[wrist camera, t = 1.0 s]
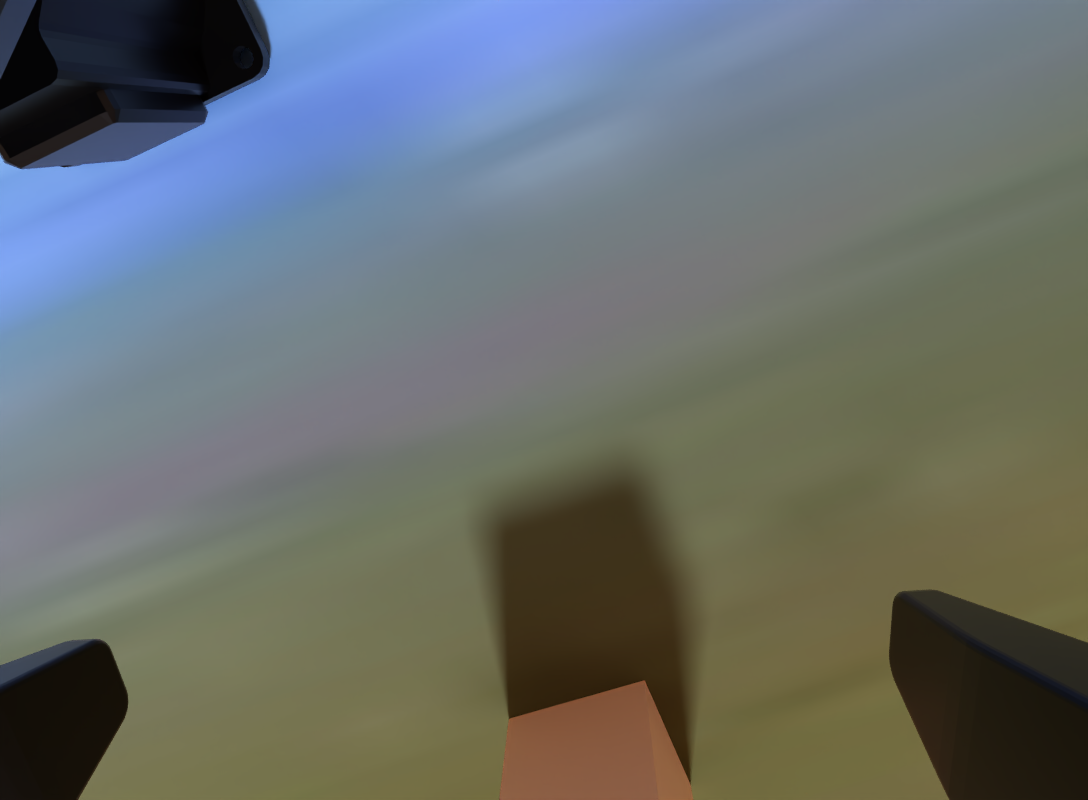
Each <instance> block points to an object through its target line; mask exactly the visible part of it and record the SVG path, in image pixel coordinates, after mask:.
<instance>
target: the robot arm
mask: <svg viewBox="0 0 1088 800" xmlns="http://www.w3.org/2000/svg"><path fill="white" fill-rule="evenodd" d="M244 48H249V50H250V51H251V52H252V54H253V59H254V60H253V64H252V65H251V66H250V67H249V68H247V69H246V68H245V67H244V66H243V65H242V64H241V61H240V54H241V51H242V50H243V49H244ZM269 63H270V58H269V55H268V51H267V49H266V47H265V45H264V43H263V41H262V38H261V36H260V34H259V32H258V30H257V28H256V26H255V24H254V22H253V20H252V18H251V16H250V14H249V12H248V9H247V7H246V5H245V3H244V1H243V0H0V156H1V157H2V159H3V161H4V162H5V163H6V164H9V165H12V166H14V167H17V168H20V169H30V168H42V167H54V166H61V167H73V166H78V165H82V164H90V163H101V162H113V161H125V160H128V159H130V158H132V157H135V156H137V155H139V154H141V153H143V152H145V151H147V150H149V149H151V148H153V147H156V146H158V145H160V144H162V143H164V142H166V141H168V140H170V139H172V138H175V137H177V136H179V135H181V134H183V133H185V132H187V131H189V130H191V129H194V128H196V127H198V126H200V125H202V124H204V123H205V120H206V117H207V114H208V111H207V109H206V107H205V105H207V104H209V103H211V102H213V101H215V100H217V99H219V98H222V97H224V96H226V95H228V94H230V93H232V92H234V91H236V90H238V89H240V88H242V87H245V86H247V85H249V84H251V83H253V82H255V81H257V80H259V79H261V78H262V77H263V76H264V75H266V73H267V71H268V69H269ZM889 660H890V667H891V671H892V675H893V678H894V680H895V683H896V685H897V687H898V690H899V692H900V694H901V696H902V698H903V701H904V703H905V705H906V707H907V709H908V712H909V714H910V716H911V718H912V720H913V723H914V725H915V727H916V729H917V731H918V734H919V736H920V738H921V740H922V742H923V745H924V747H925V749H926V751H927V753H928V756H929V758H930V760H931V762H932V764H933V767H934V769H935V771H936V773H937V775H938V778H939V780H940V782H941V784H942V786H943V788H944V790H945V792H946V794H947V796H948V798H949V800H1088V643H1087V642H1084V641H1081V640H1078V639H1076V638H1073V637H1070V636H1067V635H1064V634H1061V633H1058V632H1055V631H1053V630H1050V629H1047V628H1044V627H1041V626H1038V625H1035V624H1032V623H1030V622H1027V621H1024V620H1021V619H1018V618H1015V617H1012V616H1009V615H1007V614H1004V613H1001V612H998V611H995V610H992V609H989V608H986V607H984V606H981V605H978V604H975V603H972V602H969V601H966V600H963V599H961V598H958V597H955V596H952V595H949V594H946V593H943V592H940V591H937V590H916V591H902V592H899V593H898V594H897V595H896V596H895V598H894V601H893V607H892V621H891V634H890V647H889ZM127 708H128V694H127V690H126V687H125V685H124V682H123V679H122V677H121V674H120V672H119V669H118V666H117V664H116V661H115V659H114V656H113V653H112V651H111V649H110V647H109V645H108V644H107V643H106V642H105V641H102V640H100V639H88V640H72V641H67V642H63V643H61V644H58V645H55V646H52V647H50V648H47V649H44V650H41V651H39V652H36V653H33V654H31V655H28V656H25V657H22V658H20V659H17V660H14V661H11V662H9V663H6V664H3V665H0V800H78V799H79V797H80V795H81V793H82V792H83V790H84V788H85V787H86V785H87V783H88V781H89V780H90V778H91V776H92V774H93V773H94V771H95V769H96V767H97V766H98V764H99V762H100V761H101V759H102V757H103V755H104V754H105V752H106V750H107V748H108V747H109V745H110V743H111V741H112V740H113V738H114V736H115V735H116V733H117V731H118V729H119V728H120V726H121V724H122V722H123V720H124V718H125V716H126V712H127Z"/></svg>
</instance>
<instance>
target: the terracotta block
mask: <svg viewBox="0 0 1088 800" xmlns="http://www.w3.org/2000/svg"><path fill="white" fill-rule="evenodd" d="M499 800H693V796H692V790H691V784H690V782H689V780H688V778H687V775H686V773H685V771H684V769H683V766H682V764H681V762H680V760H679V757H678V755H677V753H676V750H675V748H674V746H673V744H672V741H671V739H670V737H669V735H668V732H667V730H666V728H665V726H664V723H663V721H662V719H661V716H660V714H659V712H658V710H657V707H656V705H655V703H654V701H653V698H652V696H651V694H650V692H649V689H648V687H647V685H646V682H645V680H644V681H640V682H637V683H633V684H630V685H626V686H623V687H619V688H616V689H612V690H608V691H605V692H601V693H598V694H594V695H591V696H587V697H584V698H580V699H577V700H573V701H570V702H566V703H563V704H559V705H556V706H552V707H549V708H545V709H541V710H538V711H534V712H531V713H527V714H524V715H520V716H517V717H513V718H510V719H509V722H508V731H507V739H506V748H505V756H504V765H503V773H502V781H501V790H500V798H499Z"/></svg>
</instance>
